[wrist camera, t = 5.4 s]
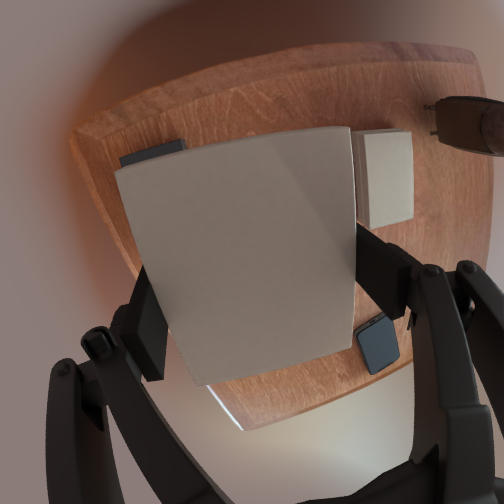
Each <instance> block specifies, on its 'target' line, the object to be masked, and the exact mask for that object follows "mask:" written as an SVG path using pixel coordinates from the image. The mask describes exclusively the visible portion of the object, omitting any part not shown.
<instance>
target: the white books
mask: <svg viewBox="0 0 504 504" xmlns="http://www.w3.org/2000/svg"><path fill="white" fill-rule="evenodd" d="M351 137H352V146H353V155H354V165H355V177H356V190H357V206H358V221H360V222H361V223H362V224H364V226H365V227H367V228H368V229H374V228H378V227H382V226H386V225H390V224H394V223H397V222H401V221H405V220H409V219H413V203H414V178H413V151H412V136H411V131H405V130H403V129H399V128H392V129H376V130H363V131H352V132H351Z"/></svg>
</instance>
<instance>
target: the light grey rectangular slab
mask: <svg viewBox="0 0 504 504" xmlns="http://www.w3.org/2000/svg"><path fill="white" fill-rule="evenodd" d="M115 177H116V181H117V185H118V188H119V192H120V195H121V199H122V202H123V205H124V209H125V212H126V215H127V218H128V222H129V225H130V228H131V231H132V234H133V237H134V240H135V243H136V246H137V249H138V252H139V254H140V257H141V260H142V263H143V265H144V268H145V271H146V274H147V276H148V279H149V281H150V283H151V285H152V288H153V290H154V293H155V295H156V298H157V300H158V303H159V305H160V308H161V310H162V312H163V315H164V317H165V319H166V322H167V324H168V327H169V330H170V332H171V334H172V336H173V339H174V341H175V343H176V345H177V347H178V349H179V351H180V354H181V356H182V358H183V360H184V362H185V364H186V366H187V368H188V370H189V372H190V374H191V376H192V378H193V380H194V382H195V384H196V386H203V385H209V384H214V383H220V382H225V381H230V380H235V379H239V378H244V377H249V376H253V375H257V374H262V373H266V372H270V371H274V370H278V369H282V368H286V367H289V366H293V365H297V364H300V363H304V362H307V361H311V360H314V359H317V358H320V357H324V356H327V355H330V354H333V353H336V352H339V351H342V350H345V349H348V348H351V345H352V334H353V321H354V305H355V283H356V207H355V185H354V169H353V157H352V145H351V136H350V128H349V127H344V126H328V127H317V128H308V129H299V130H291V131H283V132H276V133H269V134H263V135H256V136H250V137H245V138H239V139H234V140H228V141H223V142H218V143H214V144H209V145H204V146H200V147H195V148H191V149H187V150H183V151H179V152H175V153H171V154H167V155H163V156H159V157H156V158H152V159H148V160H145V161H141V162H138V163H135V164H131V165H128V166H125V167H123V168H121V169H119V170H117V171H116V172H115Z"/></svg>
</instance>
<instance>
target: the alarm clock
mask: <svg viewBox="0 0 504 504" xmlns="http://www.w3.org/2000/svg"><path fill="white" fill-rule="evenodd" d="M424 109H431V110H435V111H436V126H437V131H436V132H430V135H438V138H439V142H441V143H444V144H447V145H450V146H452V147H454V148H457V149H460V150H464V151H468V152H473V153H478V154H483V155H490V156H497V157H504V102H501V101H497V100H492V99H488V98H482V97H474V96H450V97H446V98H445V99H440V100H439V101H437V102H436V105H432V106H426V105H425V106H424Z"/></svg>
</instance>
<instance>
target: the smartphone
mask: <svg viewBox="0 0 504 504" xmlns="http://www.w3.org/2000/svg"><path fill="white" fill-rule="evenodd" d="M354 335H355V337H356V340H357V342H358V345H359V348H360V350H361V353H362V356H363V358H364V362H365V365H366V367H367V369H368V372H369V373H370V375H374V374H376V373H378V372H379V371H381V370H383V369H384V368H386V367H387V366H389V365H391V364H392V363H393V362H395V361H396V360H398V358H399V357H400V353H399V347H398V342H397V338H396V333H395V328H394V324H393V321H390V319H389V318H388V317H387V316H386V315H385V313H384V312H383V313H381V314H380V315H378V316H377V317H375V318H373V319H372V320H370V321H369V322H367V323H365V324H364V325H362V326H361V327H359V328H357V329H356V331H355V332H354Z"/></svg>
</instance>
